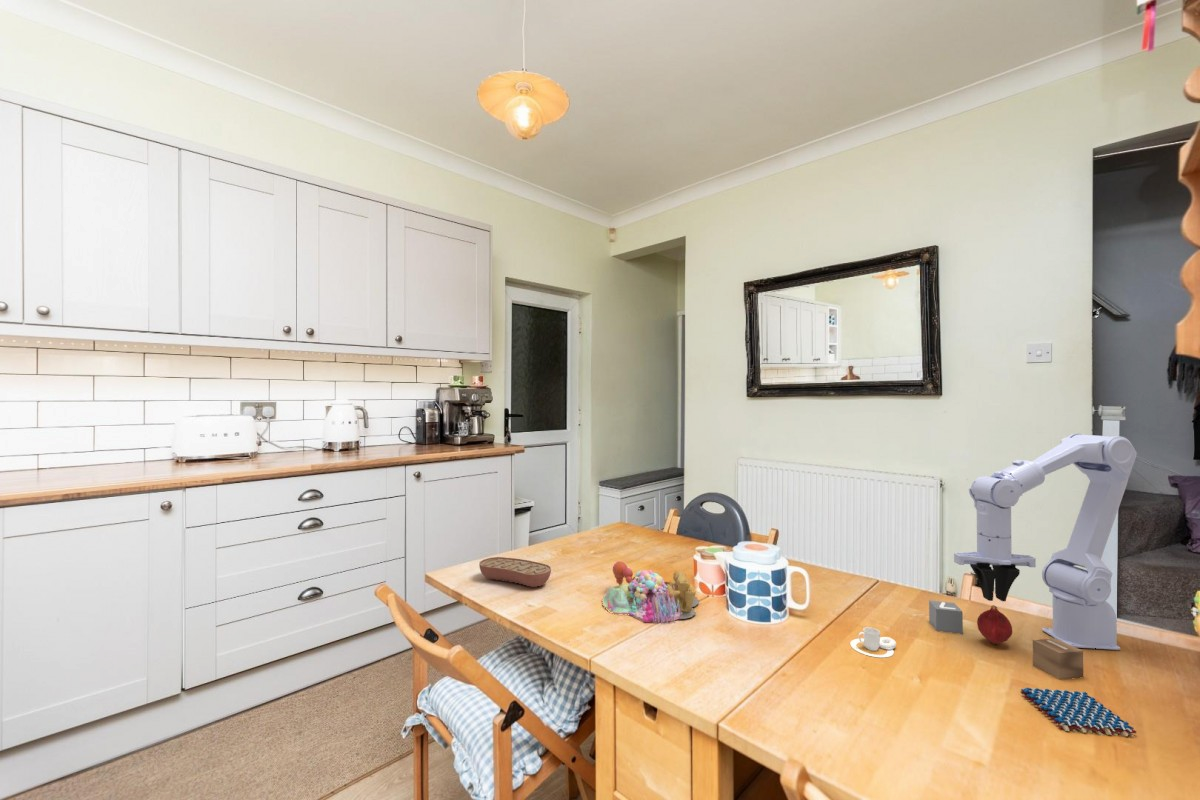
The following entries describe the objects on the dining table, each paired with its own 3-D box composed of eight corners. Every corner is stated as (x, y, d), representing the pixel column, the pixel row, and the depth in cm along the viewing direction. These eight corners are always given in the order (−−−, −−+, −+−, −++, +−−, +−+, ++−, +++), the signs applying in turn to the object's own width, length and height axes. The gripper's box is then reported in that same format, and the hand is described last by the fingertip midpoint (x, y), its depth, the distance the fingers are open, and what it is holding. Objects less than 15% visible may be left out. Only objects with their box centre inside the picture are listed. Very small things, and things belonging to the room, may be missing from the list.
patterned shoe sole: (472, 581, 145) (472, 564, 145) (494, 571, 154) (494, 554, 154) (539, 594, 134) (539, 576, 134) (558, 582, 143) (558, 565, 143)
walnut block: (1055, 664, 98) (1055, 637, 98) (1083, 678, 93) (1083, 650, 93) (1032, 665, 97) (1032, 639, 97) (1059, 680, 92) (1059, 652, 92)
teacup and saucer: (893, 644, 106) (893, 625, 106) (902, 663, 99) (902, 642, 99) (847, 638, 109) (847, 619, 109) (853, 656, 102) (853, 636, 102)
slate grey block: (954, 624, 115) (954, 602, 115) (962, 634, 110) (962, 611, 110) (929, 621, 116) (929, 599, 116) (936, 631, 112) (936, 608, 112)
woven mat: (1141, 742, 76) (1141, 729, 76) (1062, 735, 78) (1062, 722, 78) (1086, 701, 86) (1086, 689, 86) (1017, 696, 88) (1017, 684, 88)
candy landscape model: (692, 587, 139) (692, 554, 139) (708, 625, 116) (708, 585, 116) (602, 587, 140) (602, 554, 140) (600, 625, 116) (599, 585, 116)
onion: (1018, 652, 102) (1018, 612, 102) (986, 649, 103) (986, 610, 103) (1002, 638, 108) (1001, 601, 108) (971, 636, 109) (971, 599, 109)
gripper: (967, 538, 102) (967, 605, 102) (1046, 541, 100) (1046, 608, 100) (948, 529, 109) (948, 592, 109) (1022, 531, 107) (1022, 595, 107)
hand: (994, 599), depth 105 cm, fingers closed
